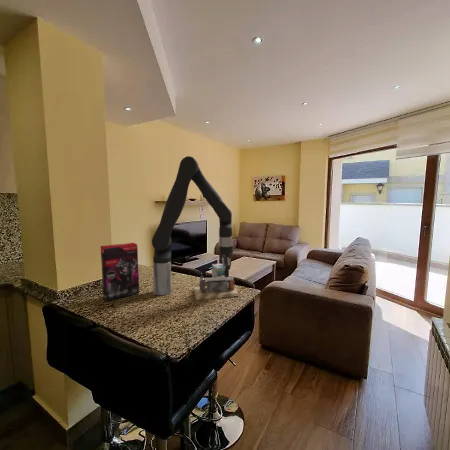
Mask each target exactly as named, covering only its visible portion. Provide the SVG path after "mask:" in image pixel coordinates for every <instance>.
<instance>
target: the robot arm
mask: <svg viewBox="0 0 450 450" xmlns="http://www.w3.org/2000/svg"><path fill="white" fill-rule="evenodd" d="M177 170H178V171H177V173H176V177H175V180H174V183H173V184H172V187H171V189H170V192H169V194H168V197H167V200H166V203H165V205H164V208H163V211H162V214H161V218H160V221H159V225H158V226H157V229H156V230H155V233H154V234H153V236H152V239H151V245H152V247H153V249H154V251H153V253H154V254H153V257H152V258H153V259H152V260H153V261H152V262H153V263H152V264H153V268H152V269H153V271H152V272H153V275H152V277H153V278H152V281H153V282H152V287H153V290H152V291H153V295H154V296H155V295H156V296H167V295H169V294H171V293H172V245H173V244H172V243H173V242H172V236H171V235H172V232H173V230H174V227H175V225H176V223H177V222H178V220H179V218H180V216H181V215H182V212H183V210H184V207H185V204H186V201H187V197H188V191H189V186H190V183H191V181H192V182H193V183H194V184H195V185H196V187H197V188H198V190H199V191H200V194H202V196H203V198H204V199H205V201H206V202H207V203H208V204H209V206H210V207H211V208H212V209H213V211H214V212H215V214H216V216H217V217H218V220H219V229H218V235H219V236H218V238H219V239H218V253H219V254H220V255H222V257H221V262H222V263H221V264H222V265H223V267H224V276H225V277H228V276H230V275H229V274H230V270H231V267H232V261H231V257H230V255H232V254H233V253H234V241H233V227H232V223H233V221H232V220H233V215H232V214H233V213H232V211H231V209H230V208H229V207H228V206H227V205H226V203H225V202H224V201H223V199H222V197H221V196H220V195H219V193H218V191H216V189H215V188H214V187H213V186H212V185H211V183H210V182H209V180H208V179H207V178H206V177H205V175H204V174H203V172H202V171H201V168H200V166H199V163H198V162H197V160H196V159H195V158H194V157H193V156H191V155H190V156H189V155H187V156H185V157H183V158H182V159H181V161H180V162H179V166H178V169H177Z"/></svg>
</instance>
